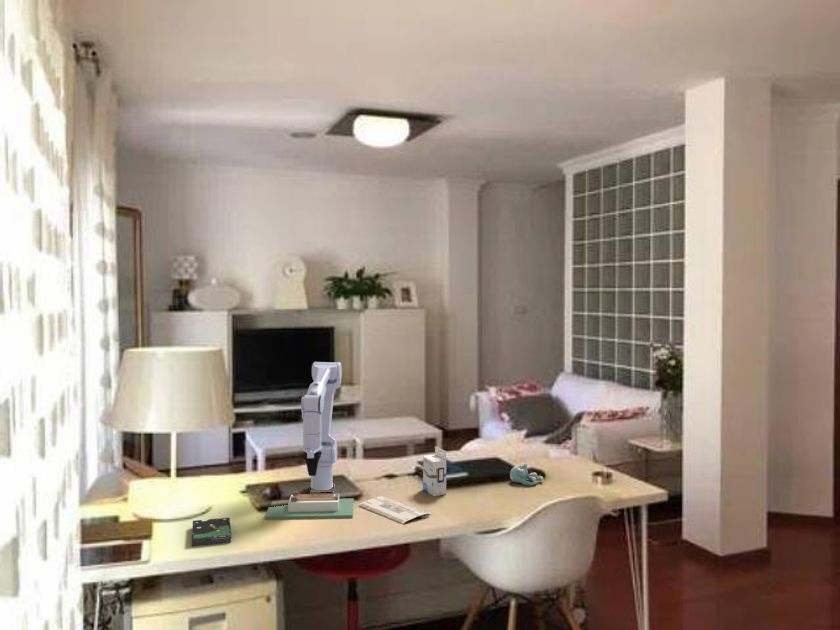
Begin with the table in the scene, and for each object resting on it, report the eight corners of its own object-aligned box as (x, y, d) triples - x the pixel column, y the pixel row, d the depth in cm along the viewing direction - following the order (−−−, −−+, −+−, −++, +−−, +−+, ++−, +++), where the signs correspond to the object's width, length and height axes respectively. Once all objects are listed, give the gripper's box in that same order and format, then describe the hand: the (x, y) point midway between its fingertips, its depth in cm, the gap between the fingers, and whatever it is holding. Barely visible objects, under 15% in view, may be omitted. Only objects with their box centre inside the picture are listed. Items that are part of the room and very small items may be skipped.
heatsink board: (272, 502, 220) (272, 487, 219) (353, 500, 222) (353, 486, 221) (264, 519, 204) (264, 503, 203) (352, 517, 206) (352, 501, 205)
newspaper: (434, 517, 208) (433, 509, 208) (403, 530, 200) (403, 522, 200) (387, 499, 225) (386, 491, 225) (357, 510, 217) (356, 503, 217)
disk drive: (192, 530, 196) (191, 548, 182) (192, 520, 196) (191, 538, 182) (229, 526, 199) (232, 544, 185) (229, 516, 199) (232, 533, 185)
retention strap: (295, 496, 214) (295, 494, 214) (334, 495, 215) (334, 493, 215) (294, 500, 210) (294, 498, 210) (333, 499, 211) (333, 497, 211)
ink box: (422, 489, 234) (422, 447, 234) (435, 487, 236) (435, 445, 236) (433, 496, 227) (434, 452, 226) (446, 494, 229) (447, 451, 228)
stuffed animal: (548, 472, 238) (514, 465, 238) (543, 492, 238) (510, 485, 238) (543, 463, 249) (510, 457, 249) (539, 483, 249) (506, 476, 249)
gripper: (301, 428, 223) (301, 469, 224) (297, 438, 209) (297, 482, 210) (323, 427, 224) (323, 468, 225) (320, 437, 209) (320, 481, 210)
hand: (312, 475), depth 217 cm, fingers closed
